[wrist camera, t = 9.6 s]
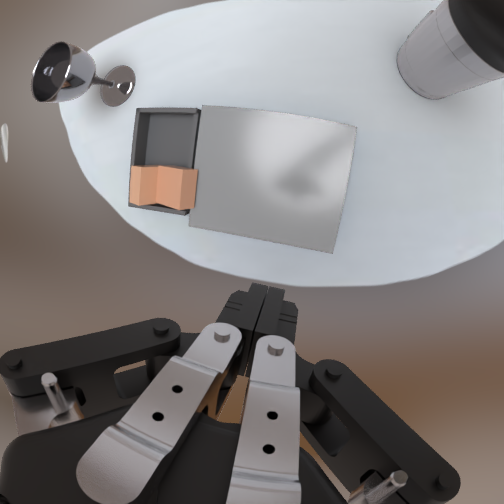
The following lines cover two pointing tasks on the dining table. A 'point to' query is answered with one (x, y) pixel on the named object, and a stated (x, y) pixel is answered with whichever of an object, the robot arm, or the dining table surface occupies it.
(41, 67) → the wine glass
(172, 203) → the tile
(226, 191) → the slate ledge
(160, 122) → the tray
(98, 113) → the dining table surface
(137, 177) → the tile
